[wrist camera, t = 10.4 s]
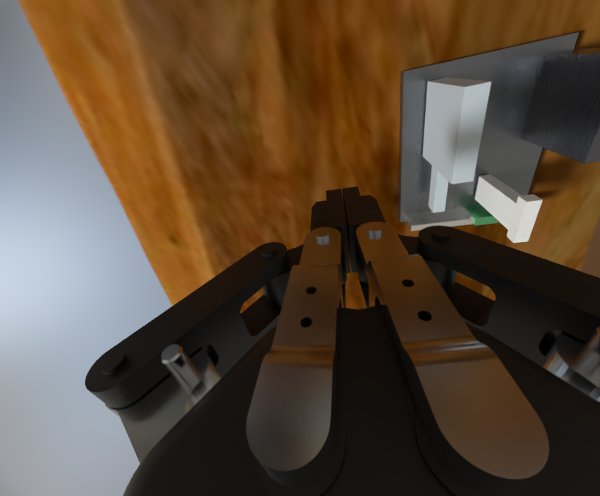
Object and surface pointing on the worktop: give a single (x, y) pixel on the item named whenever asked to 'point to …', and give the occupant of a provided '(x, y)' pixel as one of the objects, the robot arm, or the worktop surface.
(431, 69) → the stand
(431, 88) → the block
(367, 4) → the worktop surface
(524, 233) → the bar
